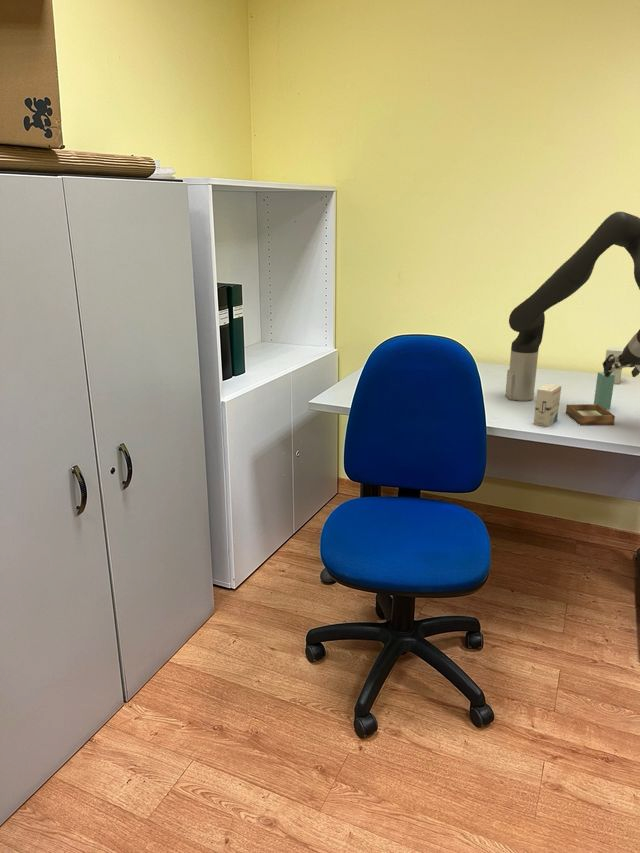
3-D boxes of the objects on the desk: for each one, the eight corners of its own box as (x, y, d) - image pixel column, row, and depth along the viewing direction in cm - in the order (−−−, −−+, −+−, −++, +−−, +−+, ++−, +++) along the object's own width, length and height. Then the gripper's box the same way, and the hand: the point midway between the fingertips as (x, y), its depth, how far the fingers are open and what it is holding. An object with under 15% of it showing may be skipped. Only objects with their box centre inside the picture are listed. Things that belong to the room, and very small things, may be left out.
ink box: (542, 417, 209) (546, 382, 205) (558, 420, 206) (562, 385, 202) (532, 424, 203) (536, 388, 199) (548, 427, 200) (552, 391, 196)
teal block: (598, 409, 217) (602, 375, 213) (593, 406, 221) (597, 372, 217) (609, 409, 217) (614, 375, 213) (605, 406, 221) (609, 372, 217)
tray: (579, 425, 201) (581, 416, 200) (565, 413, 213) (566, 404, 212) (613, 425, 201) (615, 416, 200) (597, 412, 213) (598, 404, 212)
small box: (619, 384, 247) (624, 351, 243) (602, 382, 249) (606, 350, 245) (619, 379, 254) (624, 347, 250) (602, 378, 256) (606, 345, 252)
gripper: (662, 336, 192) (639, 364, 207) (615, 336, 192) (594, 364, 207) (668, 357, 189) (644, 384, 203) (620, 357, 189) (599, 385, 203)
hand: (619, 374), depth 205 cm, fingers open, 8 cm apart
